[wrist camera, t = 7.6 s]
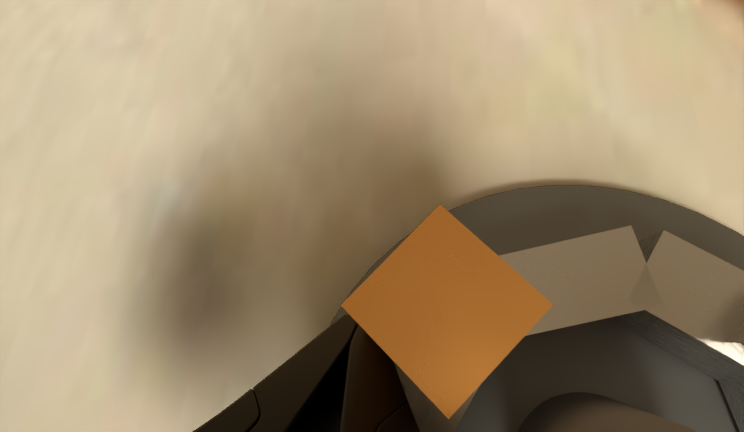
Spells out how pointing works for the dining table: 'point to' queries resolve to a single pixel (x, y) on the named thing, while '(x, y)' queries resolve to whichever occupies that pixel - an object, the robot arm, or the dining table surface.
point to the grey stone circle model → (591, 326)
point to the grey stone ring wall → (542, 307)
